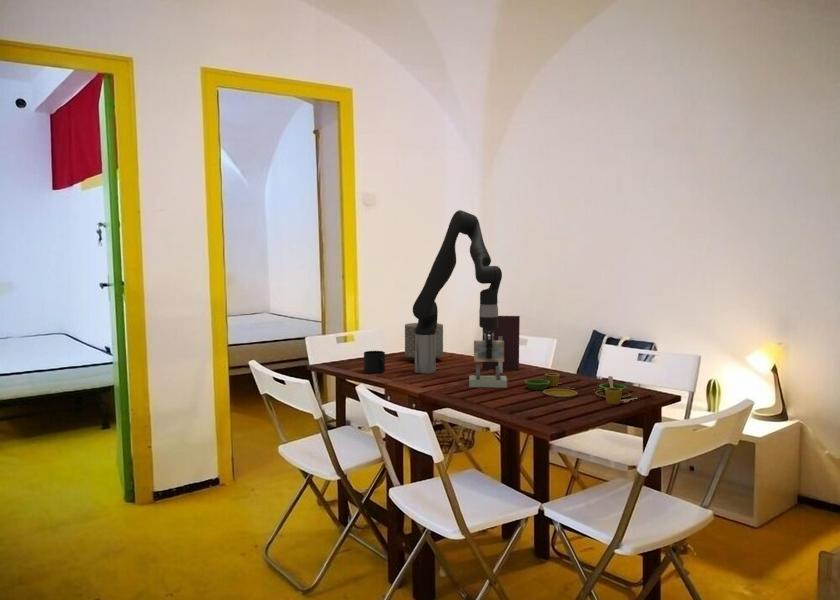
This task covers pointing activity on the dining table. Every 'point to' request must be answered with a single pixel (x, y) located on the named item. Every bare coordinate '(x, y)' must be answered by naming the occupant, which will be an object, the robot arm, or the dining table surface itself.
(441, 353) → the planter
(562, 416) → the dining table surface
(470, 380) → the grey pronged block
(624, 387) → the tableware set
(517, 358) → the dark maroon upright block
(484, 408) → the dining table surface
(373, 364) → the mug
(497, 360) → the panel
